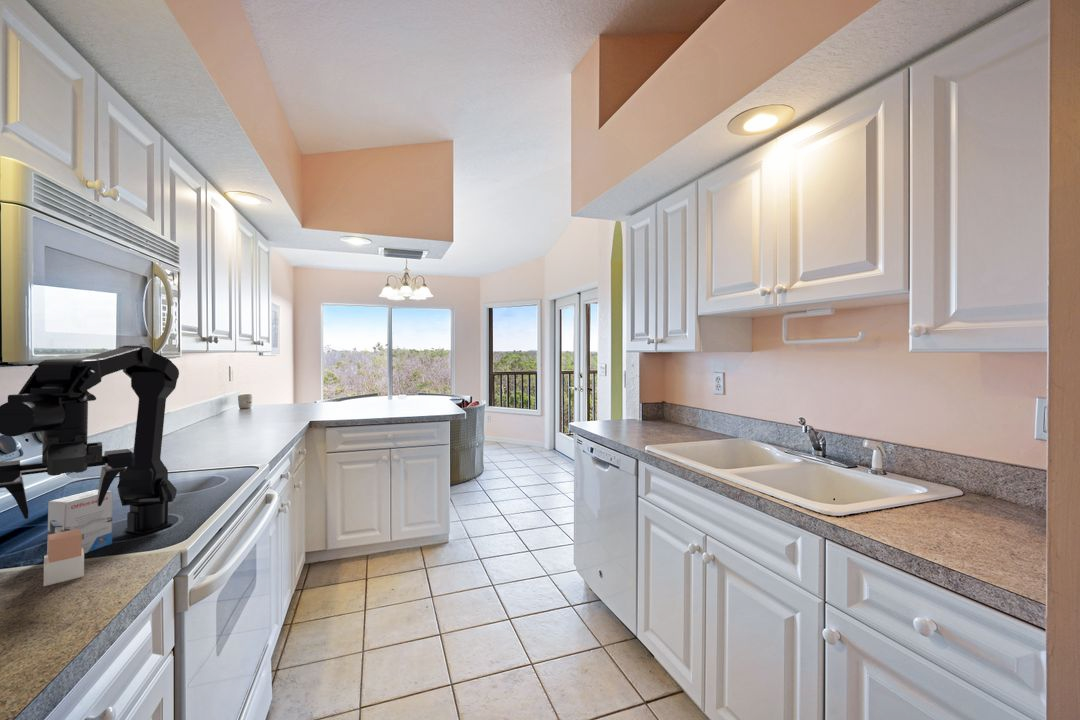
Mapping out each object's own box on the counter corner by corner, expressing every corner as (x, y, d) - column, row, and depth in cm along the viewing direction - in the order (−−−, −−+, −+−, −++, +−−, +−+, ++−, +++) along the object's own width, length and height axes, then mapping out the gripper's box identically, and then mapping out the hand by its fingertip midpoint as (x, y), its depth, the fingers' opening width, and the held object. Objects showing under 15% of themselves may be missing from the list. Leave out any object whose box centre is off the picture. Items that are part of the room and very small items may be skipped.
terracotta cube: (78, 549, 85) (79, 528, 85) (81, 555, 83) (81, 534, 83) (47, 556, 82) (48, 534, 82) (49, 562, 80) (49, 540, 80)
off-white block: (82, 568, 86) (83, 547, 86) (83, 577, 83) (84, 555, 83) (44, 577, 82) (44, 555, 82) (43, 586, 79) (43, 564, 79)
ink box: (95, 541, 98) (96, 488, 98) (113, 544, 97) (114, 490, 97) (45, 559, 89) (46, 500, 89) (64, 561, 88) (65, 502, 88)
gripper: (-18, 439, 70) (-19, 538, 70) (140, 426, 84) (139, 509, 84) (-15, 431, 77) (-16, 521, 77) (130, 421, 92) (129, 496, 92)
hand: (64, 511), depth 82 cm, fingers open, 9 cm apart
